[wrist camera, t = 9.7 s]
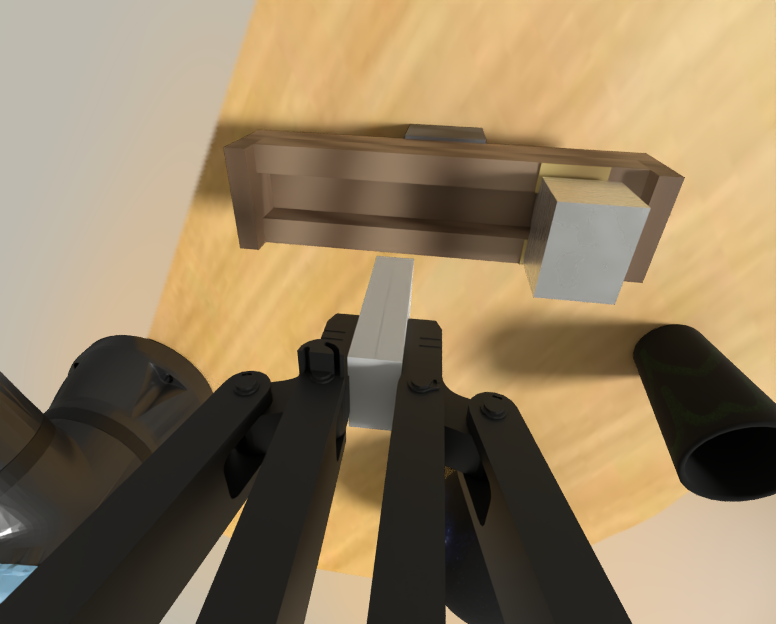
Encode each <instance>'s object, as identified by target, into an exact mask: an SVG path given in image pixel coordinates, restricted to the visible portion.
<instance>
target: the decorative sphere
mask: <svg viewBox="0 0 776 624" xmlns="http://www.w3.org/2000/svg"><path fill="white" fill-rule="evenodd" d="M445 605H446V606H447V607H448V608H449V609H450V610H451V611H452V612H453V613H454V614H455V615H456V616H458V617H459V618H460V619H462V620H463V621H464V622H466V623H468V624H505V623H504V619H503V616H502V613H501V610H500V607H499V604H498V600H497V597H496V594H495V591H494V588H493V585H492V581H491V578H490V575H489V572H488V569H487V566H486V563H485V559H484V556H483V553H482V550H481V547H480V544H479V540H478V537H477V534H476V531H475V528H474V525H473V521H472V518H471V515H470V512H469V509H468V506H467V502H466V499H465V496H464V493H463V490H462V487H461V484H460V480H459V477H458V472H457V470H456V471H455V472H453V473H452V474H450V475H449V476H448V477H447V478H445Z"/></svg>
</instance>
